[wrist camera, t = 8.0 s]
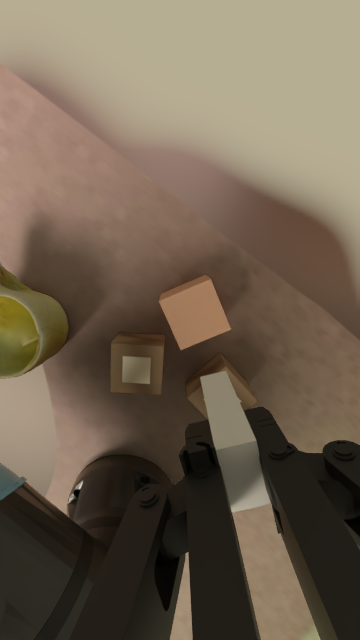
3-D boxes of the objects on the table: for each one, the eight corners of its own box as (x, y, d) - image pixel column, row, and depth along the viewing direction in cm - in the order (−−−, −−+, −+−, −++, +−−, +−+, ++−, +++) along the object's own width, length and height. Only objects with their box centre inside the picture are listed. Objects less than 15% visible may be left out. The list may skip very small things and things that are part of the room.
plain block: (180, 335, 40) (180, 350, 34) (161, 293, 39) (158, 301, 33) (223, 317, 39) (231, 329, 34) (205, 274, 38) (210, 278, 32)
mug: (87, 366, 38) (24, 385, 29) (22, 364, 42) (-54, 380, 32) (84, 268, 38) (19, 255, 29) (19, 273, 41) (-59, 263, 32)
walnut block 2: (214, 410, 42) (219, 432, 37) (185, 380, 41) (186, 398, 36) (248, 383, 41) (258, 402, 36) (219, 352, 40) (225, 367, 35)
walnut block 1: (118, 375, 41) (109, 392, 36) (119, 331, 40) (110, 343, 35) (162, 377, 41) (160, 395, 36) (165, 334, 40) (163, 347, 35)
